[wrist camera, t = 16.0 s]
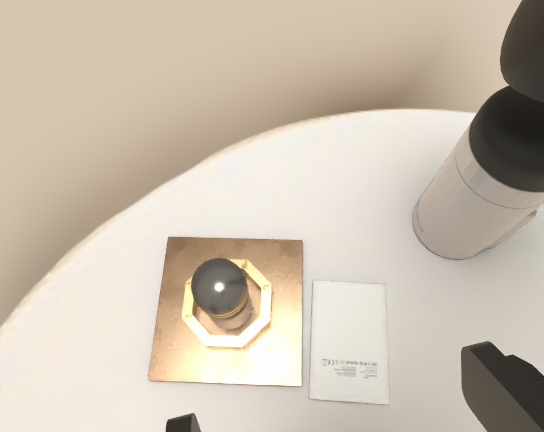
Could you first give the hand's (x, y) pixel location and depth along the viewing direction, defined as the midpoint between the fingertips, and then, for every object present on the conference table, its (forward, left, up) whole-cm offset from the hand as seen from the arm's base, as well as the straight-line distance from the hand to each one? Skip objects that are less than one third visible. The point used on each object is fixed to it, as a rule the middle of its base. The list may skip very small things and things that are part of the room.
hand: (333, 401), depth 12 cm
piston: (+8, -10, -34) cm, 36 cm away
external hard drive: (-5, -7, -35) cm, 36 cm away
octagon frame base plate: (+8, -10, -35) cm, 37 cm away
